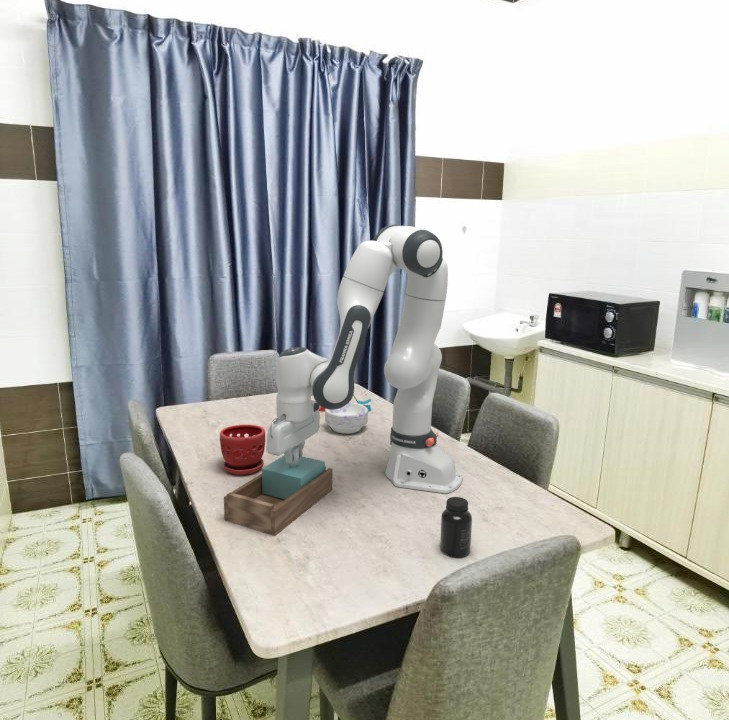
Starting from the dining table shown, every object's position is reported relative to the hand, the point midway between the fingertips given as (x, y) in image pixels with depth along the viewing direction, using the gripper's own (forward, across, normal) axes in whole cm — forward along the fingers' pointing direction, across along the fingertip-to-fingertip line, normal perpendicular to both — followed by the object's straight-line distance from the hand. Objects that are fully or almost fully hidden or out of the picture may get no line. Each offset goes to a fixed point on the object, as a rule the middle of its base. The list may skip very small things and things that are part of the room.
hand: (294, 459), depth 150 cm
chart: (+11, +67, +27) cm, 73 cm away
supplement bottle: (+11, -5, -46) cm, 48 cm away
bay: (+10, -6, 0) cm, 12 cm away
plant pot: (+10, +7, +23) cm, 26 cm away
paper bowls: (+11, +51, +12) cm, 53 cm away
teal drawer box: (+9, 0, 0) cm, 9 cm away
